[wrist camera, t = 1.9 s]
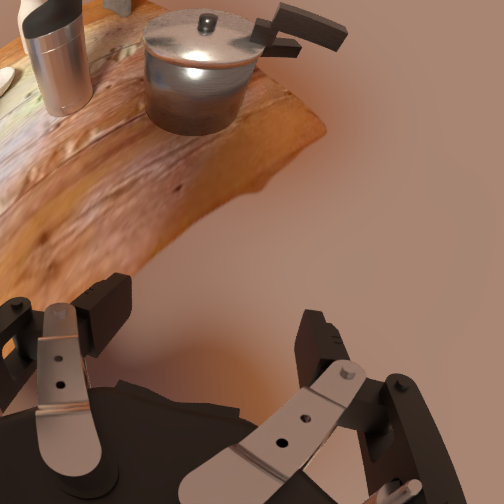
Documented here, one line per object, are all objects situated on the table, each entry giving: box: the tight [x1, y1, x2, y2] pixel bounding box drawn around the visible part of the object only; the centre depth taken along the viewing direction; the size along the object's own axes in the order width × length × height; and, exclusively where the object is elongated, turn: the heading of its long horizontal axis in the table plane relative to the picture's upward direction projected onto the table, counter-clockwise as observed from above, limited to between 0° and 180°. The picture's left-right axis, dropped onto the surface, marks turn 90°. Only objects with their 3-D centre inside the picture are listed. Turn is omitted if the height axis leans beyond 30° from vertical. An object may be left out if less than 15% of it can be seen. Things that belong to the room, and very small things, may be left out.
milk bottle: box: [18, 0, 44, 55], centre depth 27 cm, size 8×8×20 cm
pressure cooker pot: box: [144, 38, 302, 136], centre depth 36 cm, size 24×16×13 cm, turn 114°
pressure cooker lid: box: [143, 2, 348, 69], centre depth 25 cm, size 25×17×8 cm, turn 84°
